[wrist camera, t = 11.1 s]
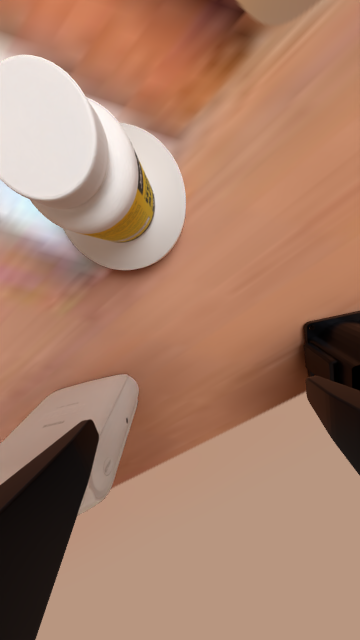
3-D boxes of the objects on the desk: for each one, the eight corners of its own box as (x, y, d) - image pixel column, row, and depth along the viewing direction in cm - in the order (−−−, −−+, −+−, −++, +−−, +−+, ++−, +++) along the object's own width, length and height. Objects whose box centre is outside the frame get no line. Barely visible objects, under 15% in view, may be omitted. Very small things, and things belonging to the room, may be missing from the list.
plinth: (169, 124, 17) (166, 103, 14) (196, 254, 20) (198, 253, 17) (53, 161, 18) (32, 146, 15) (94, 279, 20) (82, 282, 18)
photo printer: (133, 367, 23) (76, 483, 11) (145, 400, 24) (106, 538, 12) (47, 388, 24) (-89, 516, 12) (63, 419, 25) (-47, 563, 13)
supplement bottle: (170, 216, 16) (150, 162, 7) (115, 256, 17) (31, 255, 8) (128, 147, 15) (36, -31, 6) (71, 194, 16) (-88, 106, 7)
